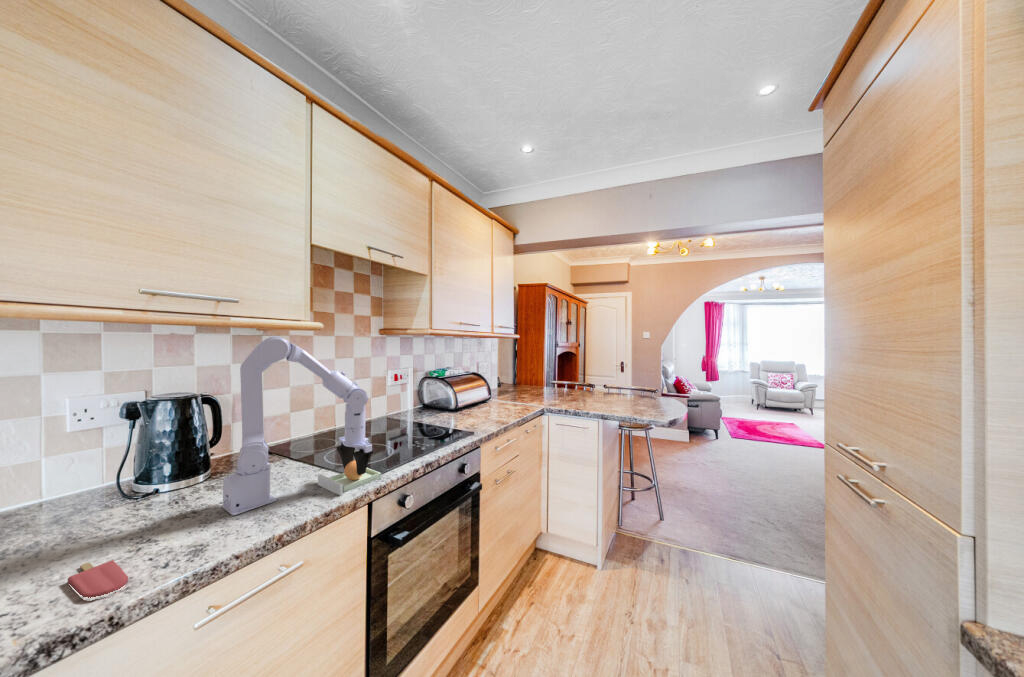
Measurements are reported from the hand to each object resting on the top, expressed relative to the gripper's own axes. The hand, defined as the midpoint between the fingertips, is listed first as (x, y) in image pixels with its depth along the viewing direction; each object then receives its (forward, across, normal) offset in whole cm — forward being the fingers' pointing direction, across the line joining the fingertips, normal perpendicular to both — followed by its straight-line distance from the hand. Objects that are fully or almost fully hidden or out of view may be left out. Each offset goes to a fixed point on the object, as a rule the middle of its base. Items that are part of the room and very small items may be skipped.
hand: (354, 471), depth 103 cm
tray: (+3, 0, 0) cm, 3 cm away
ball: (0, 0, 0) cm, 0 cm away
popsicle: (+4, -2, +50) cm, 50 cm away
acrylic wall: (+3, 0, +8) cm, 8 cm away
